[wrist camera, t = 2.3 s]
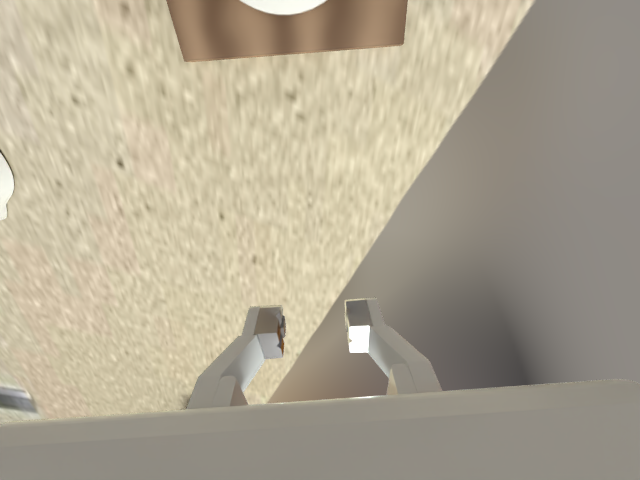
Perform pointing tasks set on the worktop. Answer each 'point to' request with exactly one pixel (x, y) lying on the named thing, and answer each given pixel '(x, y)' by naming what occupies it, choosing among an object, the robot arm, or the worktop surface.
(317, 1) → the dial
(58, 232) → the worktop surface
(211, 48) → the dial board
